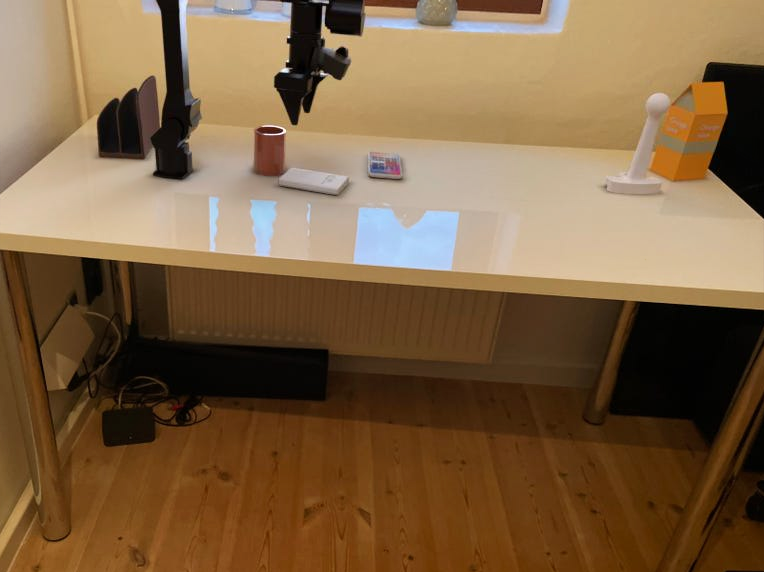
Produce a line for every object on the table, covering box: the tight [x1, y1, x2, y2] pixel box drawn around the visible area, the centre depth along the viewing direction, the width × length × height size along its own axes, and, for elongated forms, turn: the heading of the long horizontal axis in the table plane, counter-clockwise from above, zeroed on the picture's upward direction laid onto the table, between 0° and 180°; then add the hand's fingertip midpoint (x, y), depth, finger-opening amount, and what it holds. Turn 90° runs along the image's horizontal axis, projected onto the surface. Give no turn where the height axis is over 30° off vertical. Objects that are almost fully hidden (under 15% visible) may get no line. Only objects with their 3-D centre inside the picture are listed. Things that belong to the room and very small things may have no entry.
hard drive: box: [278, 167, 350, 196], centre depth 150 cm, size 2×8×12 cm
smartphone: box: [367, 151, 403, 180], centre depth 161 cm, size 7×1×15 cm
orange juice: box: [649, 81, 729, 182], centre depth 161 cm, size 8×9×20 cm
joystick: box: [603, 92, 671, 195], centre depth 152 cm, size 11×8×20 cm
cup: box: [253, 125, 287, 177], centre depth 154 cm, size 6×6×8 cm
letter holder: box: [96, 75, 161, 160], centre depth 163 cm, size 10×20×14 cm, turn 179°
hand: (300, 118), depth 141 cm, fingers open, 9 cm apart
